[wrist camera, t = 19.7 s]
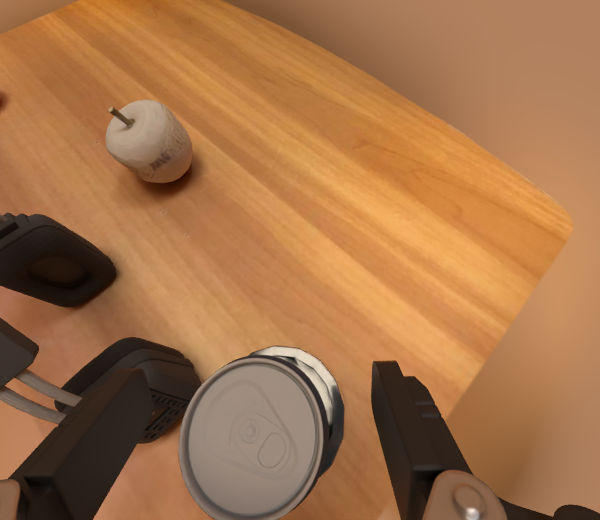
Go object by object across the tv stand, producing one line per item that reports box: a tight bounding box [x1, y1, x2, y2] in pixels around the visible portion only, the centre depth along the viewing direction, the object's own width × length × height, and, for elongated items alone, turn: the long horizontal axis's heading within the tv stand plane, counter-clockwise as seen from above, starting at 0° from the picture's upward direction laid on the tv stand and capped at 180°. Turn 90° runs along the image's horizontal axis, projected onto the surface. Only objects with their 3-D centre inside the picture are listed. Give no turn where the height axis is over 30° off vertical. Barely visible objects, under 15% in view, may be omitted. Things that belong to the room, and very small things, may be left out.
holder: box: [248, 346, 344, 478], centre depth 23 cm, size 9×9×6 cm
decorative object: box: [106, 100, 192, 183], centre depth 34 cm, size 9×9×10 cm
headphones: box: [0, 213, 201, 444], centre depth 20 cm, size 22×6×20 cm, turn 45°
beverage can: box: [179, 355, 329, 520], centre depth 18 cm, size 6×6×15 cm
